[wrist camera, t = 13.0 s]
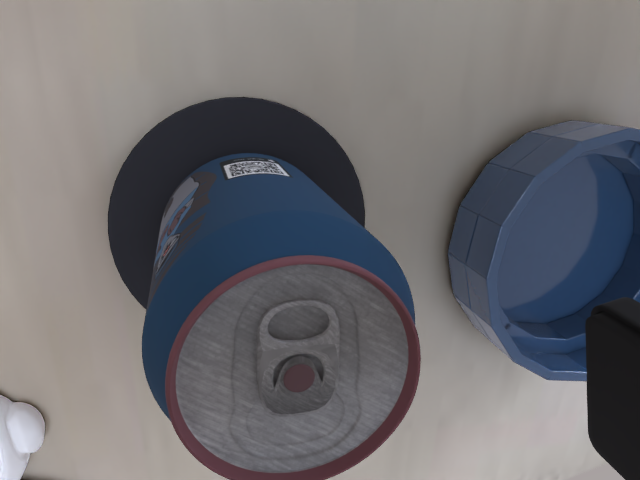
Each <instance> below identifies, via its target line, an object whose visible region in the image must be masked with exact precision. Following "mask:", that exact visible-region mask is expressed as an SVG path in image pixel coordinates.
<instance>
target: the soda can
mask: <svg viewBox="0 0 640 480" xmlns="http://www.w3.org/2000/svg"><path fill="white" fill-rule="evenodd" d="M142 359H143V365H144V370H145V375H146V378H147V381H148V384H149V387H150V389H151V392H152V394H153V396H154V398H155V400H156V401H157V403H158V405H159V406H160V408H161V409H162V411H163V412H164V413H165V415H166V416H167V417H168V418H169V420H170V421H171V422H172V425H173V427H174V429H175V431H176V433H177V435H178V437H179V438H180V440H181V441H182V443H183V444H184V446H185V447H186V448H187V449H188V451H189V452H190V453H191V454H192V455H193V456H194V457H195V458H196V459H197V460H198V461H199V462H201V463H202V464H203V465H204V466H206V467H207V468H209V469H210V470H212V471H213V472H215V473H217V474H219V475H221V476H223V477H225V478H227V479H230V480H325V479H328V478H330V477H333V476H335V475H338V474H340V473H342V472H344V471H346V470H348V469H349V468H351V467H353V466H355V465H356V464H358V463H359V462H361V461H362V460H364V459H365V458H367V457H368V456H369V455H370V454H372V453H373V452H374V451H375V450H376V449H377V448H379V447H380V446H381V445H382V444H383V443H384V442H385V441H386V440H387V439H388V438H389V436H390V435H391V434H392V433H393V432H394V431H395V429H396V428H397V427H398V425H399V424H400V423H401V421H402V420H403V418H404V417H405V415H406V413H407V411H408V410H409V408H410V405H411V403H412V401H413V398H414V396H415V393H416V389H417V385H418V380H419V374H420V361H421V356H420V344H419V338H418V334H417V330H416V327H415V312H414V304H413V299H412V295H411V291H410V288H409V285H408V282H407V280H406V278H405V275H404V273H403V271H402V269H401V268H400V266H399V264H398V263H397V261H396V260H395V259H394V257H393V256H392V255H391V253H390V252H389V251H388V250H387V249H386V248H385V247H384V246H383V245H382V244H381V243H380V242H379V241H378V240H377V239H376V238H375V237H374V236H373V235H371V234H370V233H369V232H368V231H367V230H366V229H365V228H364V227H363V226H361V225H360V224H359V223H358V222H357V221H356V220H355V219H354V218H353V217H352V216H350V215H349V214H348V213H347V212H346V211H345V210H344V209H343V208H342V207H340V206H339V205H338V204H337V203H336V202H335V201H334V200H333V199H332V198H331V197H329V196H328V195H327V194H326V193H325V192H324V191H323V190H322V189H321V188H319V187H318V186H317V185H316V184H315V183H314V182H313V181H312V180H311V179H310V178H308V177H307V176H306V175H305V174H304V173H303V172H302V171H300V170H299V169H298V168H296V167H295V166H293V165H291V164H289V163H288V162H286V161H283V160H281V159H278V158H276V157H272V156H268V155H263V154H256V153H240V154H232V155H228V156H224V157H220V158H217V159H215V160H212V161H210V162H208V163H206V164H204V165H202V166H201V167H199V168H198V169H196V170H195V171H193V172H192V173H191V174H190V175H188V176H187V177H186V178H185V179H184V180H183V181H182V182H181V184H180V185H179V186H178V187H177V188H176V190H175V191H174V193H173V194H172V196H171V197H170V199H169V201H168V203H167V205H166V208H165V210H164V213H163V217H162V221H161V226H160V232H159V238H158V244H157V250H156V256H155V262H154V268H153V274H152V280H151V286H150V292H149V298H148V304H147V310H146V316H145V322H144V328H143V336H142Z"/></svg>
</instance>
